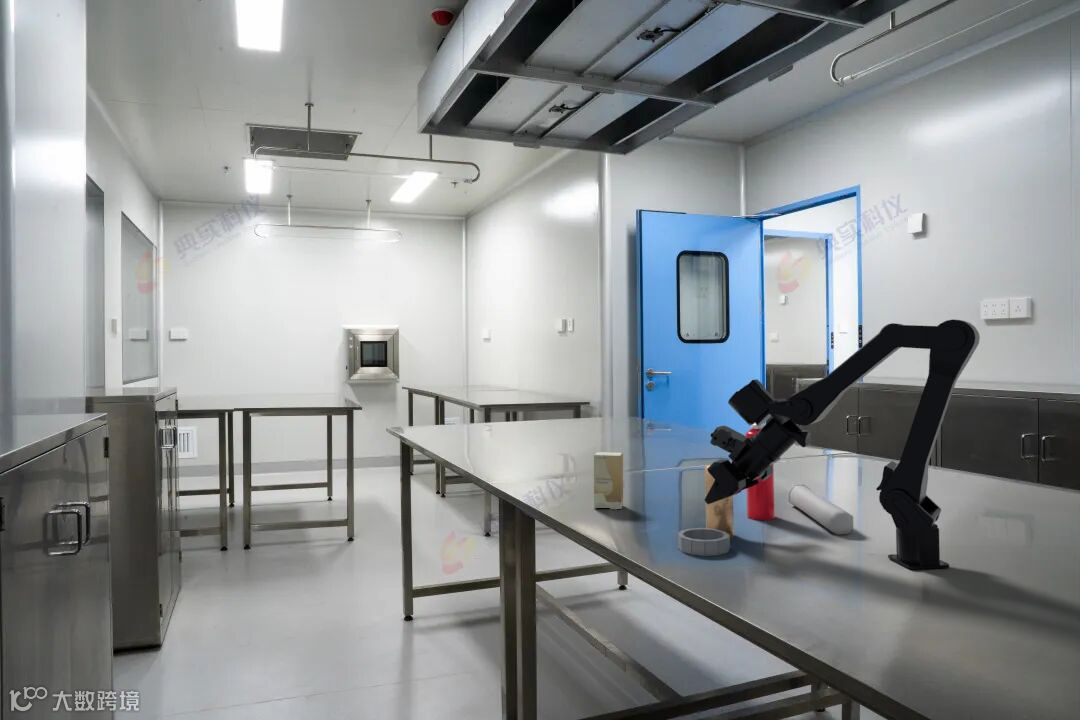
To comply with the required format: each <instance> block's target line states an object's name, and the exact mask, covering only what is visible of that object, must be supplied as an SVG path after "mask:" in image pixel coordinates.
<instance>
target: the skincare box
mask: <svg viewBox="0 0 1080 720" xmlns="http://www.w3.org/2000/svg"><path fill="white" fill-rule="evenodd" d="M622 506H623V507H624V453H623V452H614V451H613V452H611V451H610V452H609V451H606V452H605V451H602V452H601V451H596V452H595V453H594V454H593V508H594V509H595V508H610V509H609V510H617V509H621V510H622V509H623V507H622Z"/></svg>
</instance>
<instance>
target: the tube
mask: <svg viewBox="0 0 1080 720" xmlns="http://www.w3.org/2000/svg"><path fill="white" fill-rule="evenodd" d="M787 502H788V503H790V504H791V505H792V506H793V507H797V508H798V509H799V510H801V511H802V512H804V513H805V514H807V515H808V516H809V517H811V518H812V519H814V520H815V521H816V522H818V523H819V524H821V525H822V526H824V527H825V528H826V529H827V530H829V531H830V532H832V533H833V534H835V535H838V536H840V535H849V534H850V532H851V531H852V529H853V528H854V516H853V515H852V514H850V513H849V512H848V511H846V510H845V509H843V508H842V507H840V506H838V505H836V504H835V503H833V502H832V501H830V500H828V499H827V498H825V497H824V496H822V495H820V494H819V493H816V492H815V491H814V490H812V489H811V488H810V487H808V486H807V485H806V484H804V483H797V484H796V483H795V484H794V483H793V484H792V486H791V487H790V489H789V490H788V491H787Z"/></svg>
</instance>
